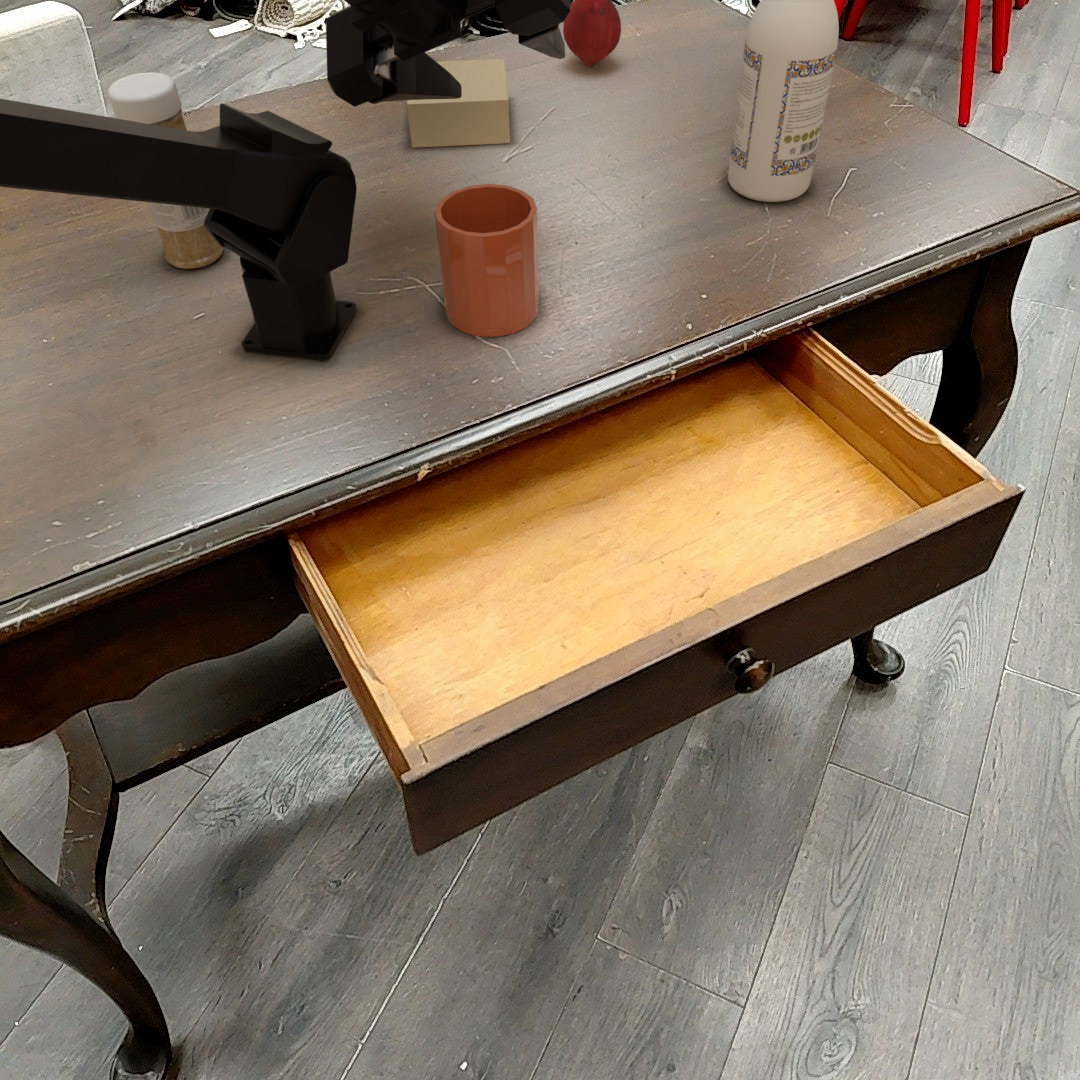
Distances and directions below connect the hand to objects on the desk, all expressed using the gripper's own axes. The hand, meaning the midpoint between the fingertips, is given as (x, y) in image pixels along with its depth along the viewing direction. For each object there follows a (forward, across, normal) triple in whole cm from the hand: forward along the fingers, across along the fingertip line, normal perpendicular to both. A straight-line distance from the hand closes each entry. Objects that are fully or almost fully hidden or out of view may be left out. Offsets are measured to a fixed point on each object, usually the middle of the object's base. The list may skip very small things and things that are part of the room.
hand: (509, 72), depth 72 cm
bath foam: (+21, -12, +5) cm, 25 cm away
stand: (+14, +14, -6) cm, 21 cm away
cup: (-1, +2, +18) cm, 18 cm away
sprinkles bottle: (-8, +25, +11) cm, 28 cm away
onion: (+27, +7, -16) cm, 32 cm away
